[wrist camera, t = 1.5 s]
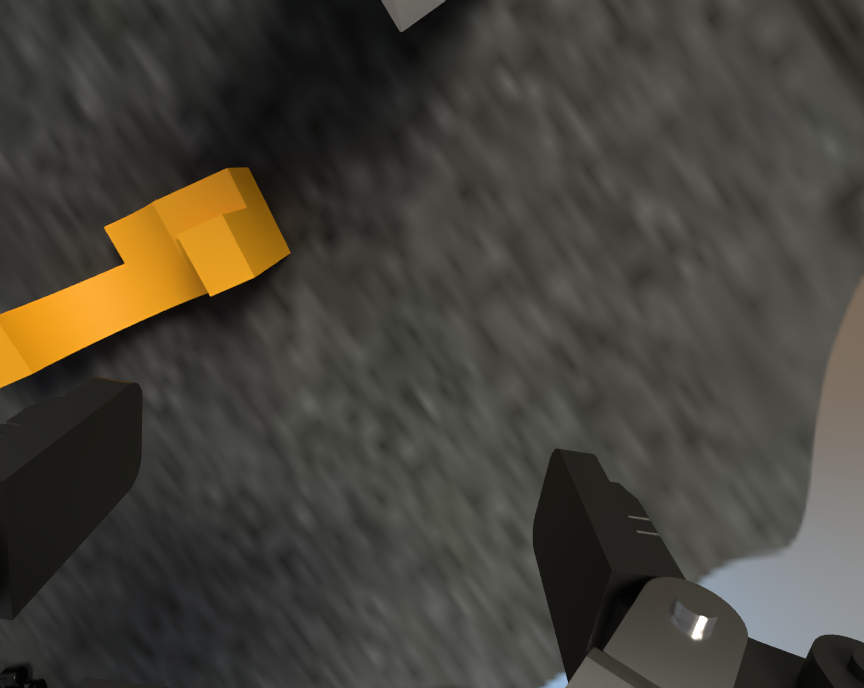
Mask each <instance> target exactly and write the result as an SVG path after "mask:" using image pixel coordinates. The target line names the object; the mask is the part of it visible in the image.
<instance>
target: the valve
mask: <svg viewBox="0 0 864 688" xmlns="http://www.w3.org/2000/svg"><path fill="white" fill-rule="evenodd" d="M27 677H28V669H27V667H26V666H14V667H7V668H6V669H4V670H3V671H2V673H1V675H0V679H6V686H5V688H47V684H46V682H45V680H44V679H39V680H30V681H26V680H27ZM0 688H1V687H0Z"/></svg>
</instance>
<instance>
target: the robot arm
mask: <svg viewBox="0 0 864 688" xmlns="http://www.w3.org/2000/svg"><path fill="white" fill-rule="evenodd" d="M141 448H142V390H141V387H140V386H139V384H137V383H134V382H127V381H121V380H114V379H108V378H102V377H93V378H91V379H89V380H88V381H86V382H85V383H83V384H82V385H80V386H79V387H77V388H76V389H74V390H73V391H71V392H70V393H68V394H67V395H65V396H63V397H58V398H55V399H52V400H49V401H46V402H42V403H39V404H36V405H33V406H30V407H28V408H26V409H25V410H23V411H22V412H20V413H18V414H17V415H15V416H14V417H12V418H10V419H9V420H7V423H6V424H1V425H0V619H8V620H13V619H14V618H15V617H16V616H17V615H18V614H19V612H20V611H21V610H22V609H23V608H24V607H25V606H26V605H27V604H28V602H29V601H30V600H31V599H32V598H33V597H34V596H35V595H36V594H37V592H38V591H39V590H40V589H41V588H42V587H43V586H44V585H45V583H46V582H47V581H48V580H49V579H50V578H51V577H52V576H53V575H54V573H55V572H56V571H57V570H58V569H59V568H60V567H61V566H62V565H63V563H64V562H65V561H66V560H67V559H68V558H69V557H70V556H71V555H72V553H73V552H74V551H75V550H76V549H77V548H78V547H79V546H80V545H81V543H82V542H83V541H84V540H85V539H86V538H87V537H88V536H89V535H90V533H91V532H92V531H93V530H94V529H95V528H96V527H97V526H98V525H99V523H100V522H101V521H102V520H103V519H104V518H105V517H106V516H107V515H108V513H109V512H110V511H111V510H112V509H113V508H114V507H115V506H116V504H117V503H118V502H119V501H120V500H121V499H122V498H123V497H124V496H125V494H126V493H127V492H128V491H129V490H130V489H131V487H132V486H133V484H134V482H135V480H136V477H137V475H138V472H139V468H140V463H141ZM657 533H658V532H657V531H656V529H655V527H654V526H653V524H652V522H651V521H649V517H648V515H647V514H646V512H645V510H644V509H643V507H642V505H641V504H640V502H639V500H638V499H637V498H635V497H634V496H633V495H632V494H631V493H630V492H628V491H627V490H626V489H625V488H624V487H623V486H621V485H620V484H619V483H615V482H610V481H609V479H608V478H607V476H606V474H605V472H604V470H603V468H602V467H601V465H600V463H599V461H598V459H597V457H596V456H595V455H594V454H589V453H582V452H576V451H569V450H563V449H555V450H554V452H553V453H552V455H551V458H550V461H549V465H548V469H547V472H546V476H545V480H544V484H543V488H542V491H541V495H540V499H539V503H538V507H537V510H536V514H535V519H534V525H533V548H534V552H535V556H536V560H537V564H538V568H539V572H540V576H541V579H542V583H543V587H544V591H545V595H546V599H547V603H548V607H549V610H550V614H551V618H552V622H553V626H554V630H555V634H556V637H557V641H558V645H559V649H560V653H561V657H562V661H563V665H564V668H565V672H566V676H567V680H568V685H567V686H566V688H864V643H863V642H861V641H858V640H854V639H852V638H848V637H844V636H840V635H823V636H820V637H818V638H817V639H815V641H814V642H813V644H812V647H811V649H810V651H809V653H808V655H807V657H806V659H805V658H802V657H800V656H797V655H794V654H791V653H788V652H786V651H783V650H781V649H778V648H775V647H772V646H769V645H767V644H764V643H762V642H759V641H756V640H754V639H751V638H749V637H748V632H747V628H746V626H745V623H744V622H743V620H742V619H741V617H740V616H739V615H738V613H737V612H736V611H735V610H734V609H733V608H732V607H731V606H730V605H729V604H728V603H727V602H726V601H724V600H723V599H722V598H721V597H719V596H718V595H716V594H715V593H713V592H711V591H710V590H708V589H706V588H704V587H702V586H700V585H698V584H695V583H693V582H690V581H687V580H686V579H685V577H684V576H683V574H682V572H681V571H680V569H679V567H678V566H677V564H676V562H675V561H674V559H673V557H672V556H671V554H670V552H669V551H668V549H667V547H666V546H665V544H664V542H663V541H662V539H661V537H660V536H657ZM78 688H166V687H158V686H150V685H143V684H135V683H127V682H119V681H111V680H103V679H95V678H87V677H84V679H83V680H82V682H81V683H80V685H79V686H78Z"/></svg>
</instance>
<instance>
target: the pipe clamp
mask: <svg viewBox="0 0 864 688" xmlns="http://www.w3.org/2000/svg"><path fill="white" fill-rule="evenodd" d="M104 228H105V230H106V232H107V233H108V235H109V237H110V239H111V240H112V242H113V244H114V245H115V247H116V249H117V251H118V252H119V254H120V256H121V257H122V259H123V261H124V263H125V264H123V265H120V266H118V267H116V268H114V269H111V270H109V271H107V272H104V273H102V274H100V275H97V276H95V277H93V278H90V279H88V280H85V281H83V282H81V283H78V284H76V285H73V286H71V287H69V288H66V289H64V290H61V291H59V292H56V293H54V294H51V295H49V296H47V297H44V298H42V299H39V300H36V301H34V302H31V303H29V304H26V305H24V306H21V307H19V308H16V309H13V310H11V311H8V312H5V313H3V314H0V388H1V387H3V386H5V385H8V384H10V383H12V382H15V381H17V380H19V379H22V378H24V377H26V376H28V375H31V374H33V373H35V372H37V371H39V370H41V369H42V368H44V367H46V366H48V365H50V364H52V363H54V362H56V361H58V360H60V359H62V358H64V357H66V356H68V355H70V354H72V353H74V352H76V351H78V350H80V349H82V348H84V347H86V346H88V345H90V344H93V343H95V342H97V341H99V340H101V339H103V338H105V337H107V336H109V335H112V334H114V333H116V332H118V331H120V330H122V329H124V328H127V327H129V326H131V325H133V324H135V323H137V322H140V321H142V320H144V319H146V318H149V317H151V316H153V315H155V314H158V313H160V312H162V311H164V310H167V309H169V308H171V307H174V306H176V305H179V304H181V303H183V302H186V301H188V300H191V299H193V298H196V297H198V296H201V295H204V294H207V293H209V295H210V297H211V296H213V295H215V294H218V293H220V292H222V291H225V290H227V289H229V288H232V287H234V286H236V285H238V284H241V283H243V282H245V281H248V280H250V279H252V278H255V277H256V276H258V275H259V274H261V273H262V272H263V271H265V270H266V269H268V268H269V267H271V266H272V265H274V264H275V263H277V262H278V261H280V260H281V259H283V258H284V257H285V256H287V255H288V254H290V253H291V252H290V250H289V248H288V246H287V244H286V242H285V240H284V238H283V236H282V234H281V232H280V230H279V228H278V226H277V224H276V222H275V220H274V218H273V216H272V214H271V212H270V210H269V208H268V206H267V204H266V202H265V200H264V198H263V196H262V194H261V192H260V190H259V188H258V186H257V184H256V182H255V180H254V178H253V176H252V174H251V172H250V170H249V168H248V167H243V168H226V169H224V170H222V171H220V172H217V173H215V174H213V175H211V176H209V177H206V178H204V179H202V180H200V181H198V182H196V183H193V184H191V185H189V186H187V187H185V188H182V189H180V190H178V191H176V192H174V193H172V194H169V195H167V196H165V197H163V198H161V199H158V200H156V201H154V202H152V203H151V204H149V205H147V206H146V207H144V208H142V209H140V210H138V211H137V212H135V213H133V214H131V215H129V216H127V217H125V218H122V219H120V220H118V221H116V222H114V223H112V224H110V225H107V226H105V227H104Z"/></svg>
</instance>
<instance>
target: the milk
mask: <svg viewBox="0 0 864 688" xmlns="http://www.w3.org/2000/svg"><path fill="white" fill-rule="evenodd" d="M381 1H382V3H383V4H384V6H385V8H386V9H387V11H388V13H389V14H390V16H391V18H392V20H393V21H394V23H395V25H396V26H397V28H398V30H399V31H400V32H403V31H404V30H406V29H407V28H409V27H410V26H411V25H413V24H414V23H415V22H417V21H418V20H420V19H421V18H422V17H424V16H425V15H426V14H428V13H429V12H431V11H432V10H433V9H435V8H436V7H438V6H439V5H440V4H442V3H443V2H444V1H446V0H381Z"/></svg>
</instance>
